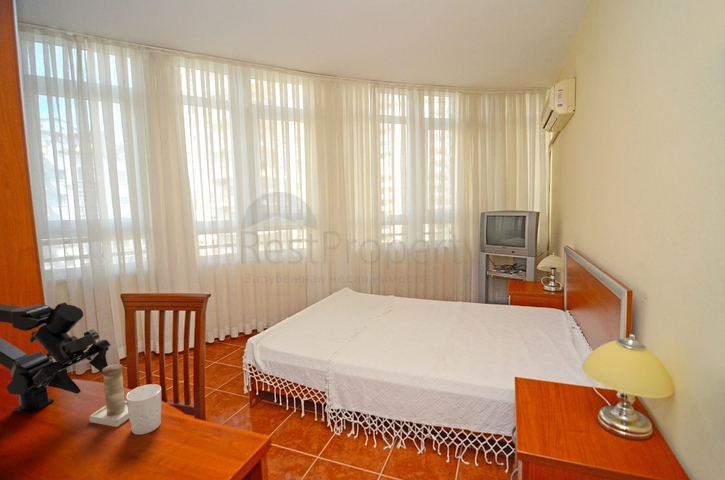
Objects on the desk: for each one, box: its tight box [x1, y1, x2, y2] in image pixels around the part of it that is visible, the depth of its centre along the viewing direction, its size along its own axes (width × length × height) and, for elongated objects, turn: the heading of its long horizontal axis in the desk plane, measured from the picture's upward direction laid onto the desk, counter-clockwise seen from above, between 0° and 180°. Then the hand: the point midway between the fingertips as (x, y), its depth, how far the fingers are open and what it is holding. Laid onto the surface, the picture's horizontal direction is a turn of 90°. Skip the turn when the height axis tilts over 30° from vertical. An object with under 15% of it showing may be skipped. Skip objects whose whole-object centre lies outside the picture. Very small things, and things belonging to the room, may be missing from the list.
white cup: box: [125, 383, 162, 436], centre depth 92 cm, size 8×8×10 cm
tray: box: [88, 400, 130, 428], centre depth 97 cm, size 9×8×2 cm
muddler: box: [101, 363, 126, 416], centre depth 96 cm, size 5×5×13 cm
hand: (94, 383), depth 97 cm, fingers open, 9 cm apart
